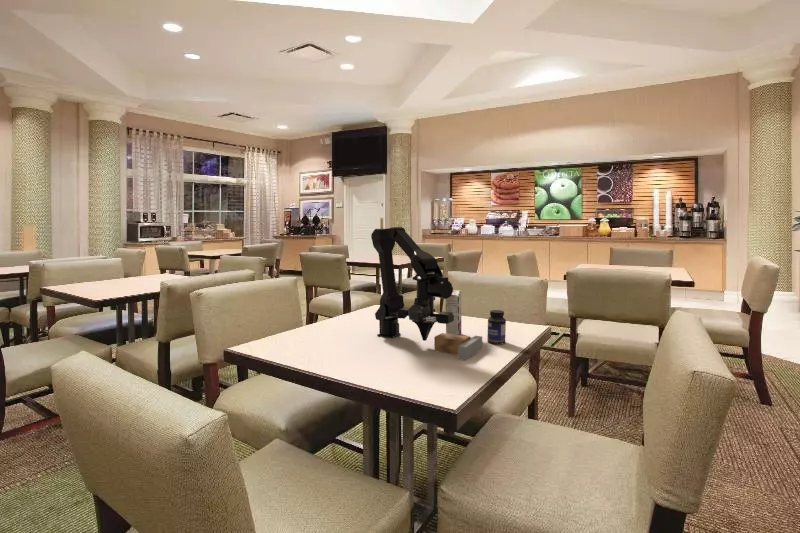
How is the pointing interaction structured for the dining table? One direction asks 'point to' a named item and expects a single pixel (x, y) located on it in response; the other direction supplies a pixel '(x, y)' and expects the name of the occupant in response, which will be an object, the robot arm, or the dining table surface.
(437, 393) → the dining table surface
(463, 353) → the fence board
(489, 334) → the pill bottle
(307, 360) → the dining table surface
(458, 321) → the candy bar box
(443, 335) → the walnut brick
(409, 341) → the dining table surface
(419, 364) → the dining table surface
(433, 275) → the robot arm
